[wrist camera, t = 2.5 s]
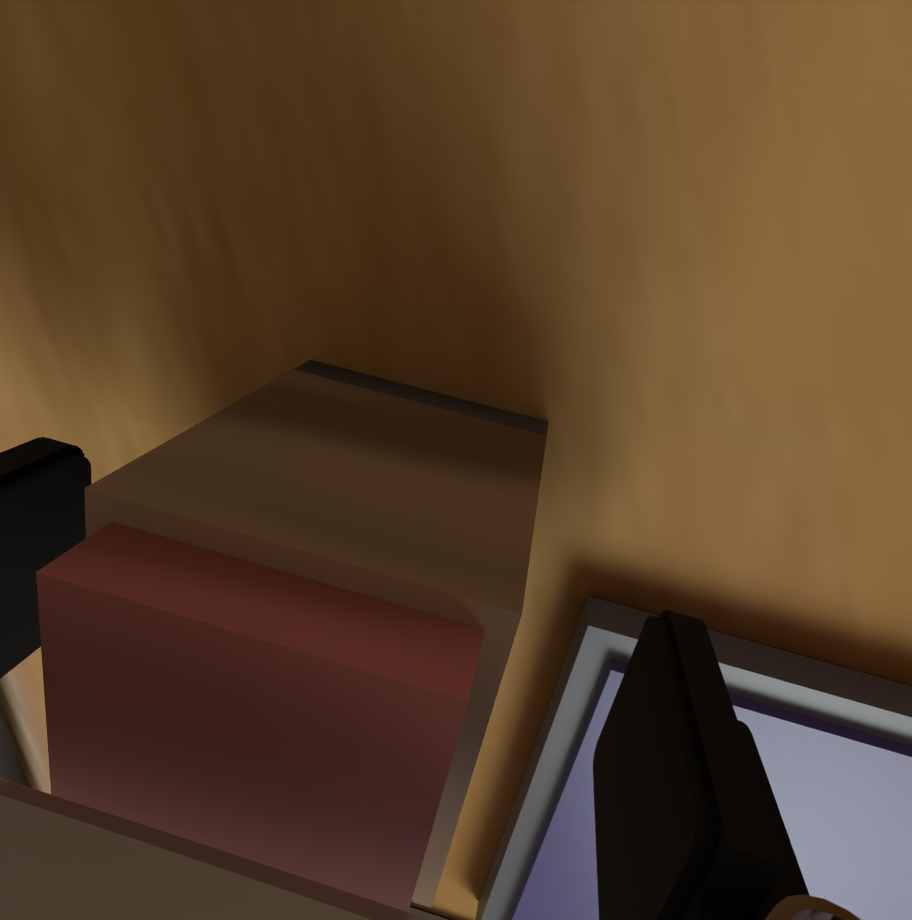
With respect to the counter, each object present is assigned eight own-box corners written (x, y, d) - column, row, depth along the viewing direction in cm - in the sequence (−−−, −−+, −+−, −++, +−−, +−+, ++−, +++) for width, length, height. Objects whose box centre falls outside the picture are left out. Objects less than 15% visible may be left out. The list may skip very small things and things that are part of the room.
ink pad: (587, 595, 13) (588, 635, 11) (1110, 742, 12) (1169, 801, 11) (478, 903, 17) (470, 957, 15) (864, 1029, 16) (887, 1096, 15)
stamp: (310, 359, 12) (3, 534, 6) (548, 421, 12) (512, 685, 5) (286, 562, 14) (33, 869, 7) (490, 621, 13) (411, 999, 7)
